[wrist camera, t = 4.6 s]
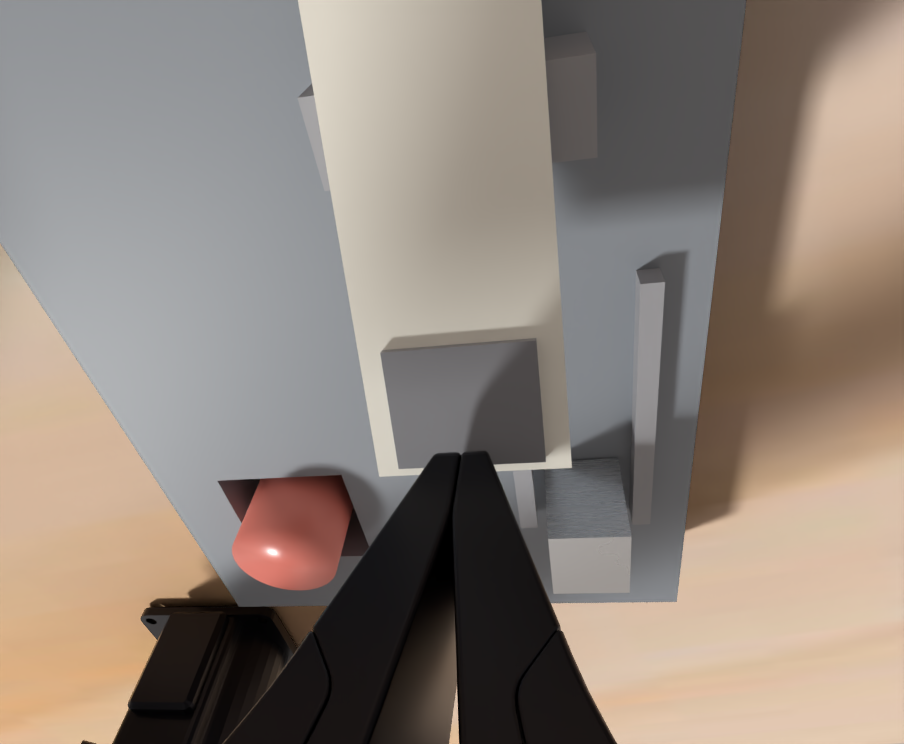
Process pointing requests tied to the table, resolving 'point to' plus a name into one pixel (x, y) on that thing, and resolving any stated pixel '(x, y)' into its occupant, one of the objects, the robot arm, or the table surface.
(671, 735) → the table surface
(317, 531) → the button
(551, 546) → the slider
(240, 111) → the panel
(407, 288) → the white long block
